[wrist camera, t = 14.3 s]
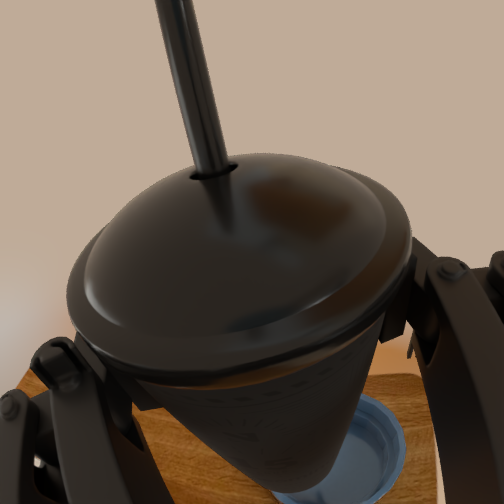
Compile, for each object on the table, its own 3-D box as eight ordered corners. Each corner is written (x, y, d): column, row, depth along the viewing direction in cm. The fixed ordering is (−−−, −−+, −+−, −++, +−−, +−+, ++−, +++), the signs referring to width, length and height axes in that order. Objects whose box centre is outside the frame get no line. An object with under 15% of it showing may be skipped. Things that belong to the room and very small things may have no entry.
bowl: (385, 407, 28) (394, 382, 26) (398, 512, 18) (413, 503, 16) (270, 417, 30) (264, 394, 28) (262, 524, 20) (253, 518, 18)
